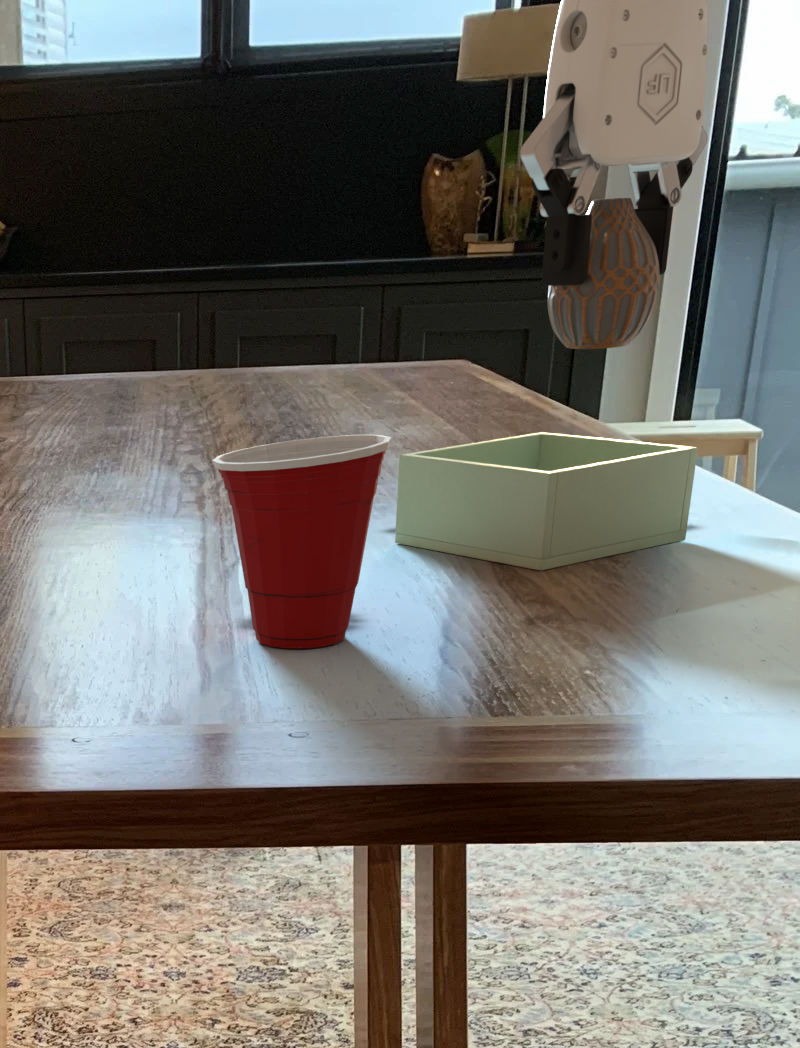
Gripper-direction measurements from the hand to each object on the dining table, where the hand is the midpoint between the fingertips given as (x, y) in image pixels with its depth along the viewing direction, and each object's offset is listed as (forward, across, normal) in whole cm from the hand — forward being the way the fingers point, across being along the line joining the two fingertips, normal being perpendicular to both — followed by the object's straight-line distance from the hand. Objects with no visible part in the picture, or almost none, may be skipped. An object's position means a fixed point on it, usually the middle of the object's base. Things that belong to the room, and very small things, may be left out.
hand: (603, 277), depth 100 cm
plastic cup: (+19, -26, 0) cm, 32 cm away
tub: (+19, +8, +10) cm, 23 cm away
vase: (+4, 0, 0) cm, 4 cm away
